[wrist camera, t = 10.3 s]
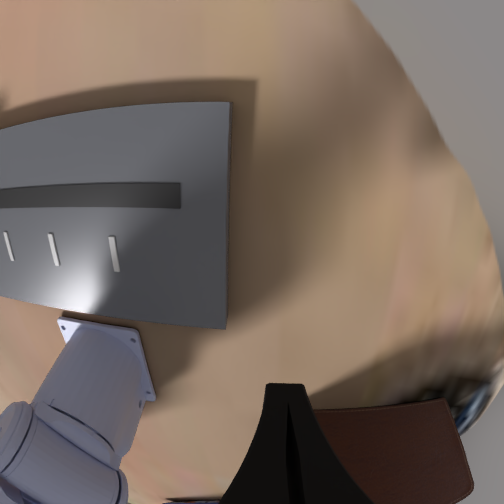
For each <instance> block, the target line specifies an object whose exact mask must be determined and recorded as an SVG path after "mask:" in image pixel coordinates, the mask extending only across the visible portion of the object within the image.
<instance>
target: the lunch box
mask: <svg viewBox="0 0 504 504" xmlns="http://www.w3.org/2000/svg"><path fill="white" fill-rule="evenodd" d="M219 501H220V500H219ZM219 501H191V502H170V503H163V504H218V503H219Z"/></svg>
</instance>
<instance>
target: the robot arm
mask: <svg viewBox="0 0 504 504" xmlns="http://www.w3.org/2000/svg"><path fill="white" fill-rule="evenodd" d="M57 321H58V324H59V327H60V329H61V332H62V334H63V337H64V339H65V342H66V346H65V347H64V349H63V350H62V352H61V353H60V355H59V357H58V358H57V360H56V361H55V363H54V365H53V366H52V368H51V370H50V371H49V373H48V375H47V376H46V378H45V380H44V381H43V383H42V385H41V387H40V388H39V390H38V392H37V394H36V395H35V397H34V399H33V401H32V403H31V404H28V403H26V402H25V401H21V402H14V403H12V404H10V405H9V406H8V407H7V408H6V409H5V410H4V411H3V412H2V414H1V415H0V504H127V502H128V483H127V479H126V476H125V474H124V473H123V472H122V471H121V470H120V469H119V466H120V463H121V459H122V457H123V456H124V455H125V454H126V453H127V452H128V451H129V450H130V448H131V446H132V443H133V440H134V436H135V433H136V430H137V427H138V423H139V420H140V417H141V414H142V411H143V408H144V404H145V401H146V400H147V401H155V400H156V395H155V391H154V388H153V384H152V381H151V378H150V374H149V370H148V367H147V363H146V359H145V355H144V352H143V348H142V344H141V339H140V335H139V332H138V331H137V330H135V329H133V328H126V327H120V326H113V325H107V324H100V323H95V322H89V321H83V320H77V319H72V318H67V317H59V318H58V320H57ZM133 338H134V339H133ZM218 504H375V503H374V502H373V501H372V500H371V499H370V498H369V497H368V496H367V494H366V493H365V492H364V491H363V490H362V489H361V488H360V487H359V485H358V484H357V483H356V482H355V480H354V479H353V478H352V477H351V475H350V474H349V473H348V471H347V470H346V468H345V467H344V466H343V464H342V463H341V461H340V460H339V458H338V457H337V455H336V453H335V452H334V450H333V448H332V447H331V445H330V443H329V441H328V440H327V438H326V436H325V434H324V432H323V430H322V428H321V426H320V424H319V422H318V420H317V418H316V416H315V413H314V411H313V409H312V406H311V404H310V401H309V398H308V396H307V393H306V390H305V386H304V385H303V384H286V383H268V384H266V388H265V395H264V403H263V410H262V414H261V418H260V421H259V424H258V427H257V430H256V433H255V435H254V438H253V440H252V443H251V445H250V447H249V450H248V452H247V454H246V456H245V459H244V461H243V463H242V465H241V467H240V468H239V470H238V472H237V474H236V476H235V478H234V479H233V481H232V483H231V484H230V486H229V488H228V489H227V491H226V492H225V494H224V496H223V497H222V498H221V500H220V501H219V503H218Z"/></svg>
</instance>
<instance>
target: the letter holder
mask: <svg viewBox="0 0 504 504" xmlns="http://www.w3.org/2000/svg"><path fill="white" fill-rule="evenodd" d="M313 411H314V413H315V416H316V418H317V420H318V422H319V424H320V426H321V428H322V430H323V432H324V434H325V436H326V438H327V440H328V441H329V443H330V445H331V447H332V448H333V450H334V452H335V453H336V455H337V457H338V458H339V460H340V461H341V463H342V464H343V466H344V467H345V468H346V470H347V471H348V473H349V474H350V475H351V477H352V478H353V479H354V480H355V482H356V483H357V484H358V485H359V487H360V488H361V489H362V490H363V491H364V492H365V493H366V494H367V496H368V497H369V498H370V499H371V500H372V501H373V502H374V503H375V504H456V503H457V502H459V501H461V500H463V499H464V498H466V497H467V496H468V495H470V494H471V492H472V491H473V489H474V481H473V478H472V475H471V471H470V468H469V465H468V462H467V458H466V454H465V451H464V447H463V445H462V442H461V439H460V436H459V433H458V431H457V428H456V425H455V422H454V419H453V417H452V414H451V411H450V408H449V406H448V403H447V401H446V399H445V398H444V397H442V398H437V399H432V400H426V401H419V402H413V403H405V404H397V405H389V406H378V407H365V408H350V409H328V410H313Z"/></svg>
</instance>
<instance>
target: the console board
mask: <svg viewBox="0 0 504 504" xmlns="http://www.w3.org/2000/svg"><path fill="white" fill-rule="evenodd" d="M232 103H233V102H178V103H158V104H144V105H132V106H122V107H113V108H105V109H98V110H90V111H84V112H78V113H72V114H66V115H61V116H55V117H50V118H45V119H41V120H36V121H32V122H28V123H23V124H19V125H15V126H12V127H8V128H4V129H1V130H0V296H3V297H7V298H11V299H16V300H20V301H25V302H29V303H34V304H39V305H44V306H49V307H54V308H60V309H65V310H71V311H77V312H82V313H89V314H95V315H101V316H108V317H115V318H122V319H129V320H137V321H144V322H153V323H161V324H170V325H180V326H190V327H201V328H213V329H226V324H227V317H228V237H229V191H230V156H231V128H232Z"/></svg>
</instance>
